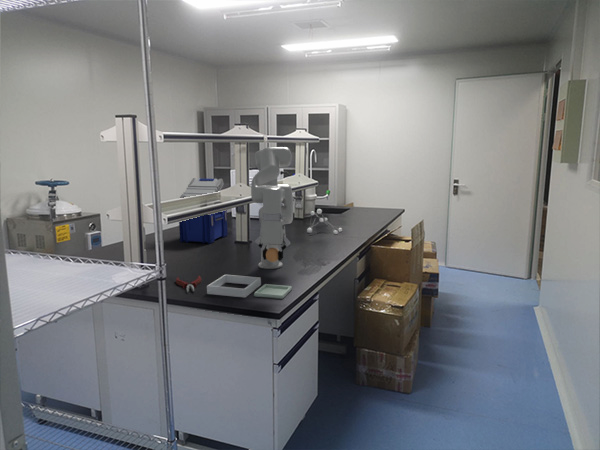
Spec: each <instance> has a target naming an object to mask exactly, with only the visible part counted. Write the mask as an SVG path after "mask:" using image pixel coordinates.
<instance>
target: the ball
mask: <svg viewBox="0 0 600 450" xmlns="http://www.w3.org/2000/svg"><path fill="white" fill-rule="evenodd" d="M278 252H279V250H278V249H276V248H269V249H268V250H267V252H266V258H267V260H269V261H270V262H275V261H277V260H278Z"/></svg>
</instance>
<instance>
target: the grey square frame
mask: <svg viewBox="0 0 600 450" xmlns="http://www.w3.org/2000/svg"><path fill="white" fill-rule="evenodd" d="M261 278H262V277H260V276H259V277H257V276H248V275H247V276H245V275H236V274H224V275H222V276H220V277H218V279H216V280H214V281H212V282H210V284H207V285H206V294H207V295H216V296H225V297H226V296H227V297H237V298H247V297H248V296H249V295H250V294H252V293H253V292H255V290H258V289H259V288H260V286H261V285H262V279H261ZM226 283H227V284H229V283H230V284H240V285H241V284H242V285H247V286H246V287H244V288H239V287H230V286H224V285H225V284H226Z"/></svg>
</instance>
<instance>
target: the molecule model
mask: <svg viewBox="0 0 600 450" xmlns="http://www.w3.org/2000/svg"><path fill="white" fill-rule="evenodd" d="M322 212H323V209H321V208H317V210H316V212H315V211H313V210H311V211H310V213H309V214H310V215H311V218H310V219H312V216H314V215H315V216H317V215H322V216H323V214H322ZM318 218H319V222H317V223H316V224H315V225H314V223H315V221H316V219H314V221H312V222H313V223H312V224H311V221H310V224H311V225H310V226H309V227H308V228H307V229H306V232H307V233H309V234H311V233H312V232H313V227H314V226H316V225H318V224H319V223H325V224H329V225H330V226H332V224H331V223H330V222H329V221H328V218H327V217H320V216H318ZM334 227H335V228H336V229H337V230H336V229H334V228H333V234H334V235H337V234H338V233H339V232H340V233H341V232H343V228H342V227H339V228H337V227H336V226H334Z"/></svg>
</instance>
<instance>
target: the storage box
mask: <svg viewBox="0 0 600 450" xmlns="http://www.w3.org/2000/svg"><path fill="white" fill-rule="evenodd" d="M223 187H224V180H223V178H219V179H217V178H200V177H199V178H196V177H194V178H192V179H191V181H189V184H188V185H187V187H186V190H185V191H183V193H181V195H180V196H179V198H184V197H190V196H196V195H202V194H207V193H213V192H218V191H221V190H222V189H223ZM227 211H228V210H226V211H223V212H218V213H215V214H211V215H204V216H200V217H197V218H193V219H189V220H186V221H182V222H179V221H178V224H179V227H178V228H179V229H178V230H179V242H180V243H187V244H188V243H191V242H195V243H197V242H198V243H202V244H208V245H210V244H212V243H215V240H216V239H218V238H222V239H223V238H226V237H228V214H227V213H228V212H227ZM184 241H185V242H184Z"/></svg>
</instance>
